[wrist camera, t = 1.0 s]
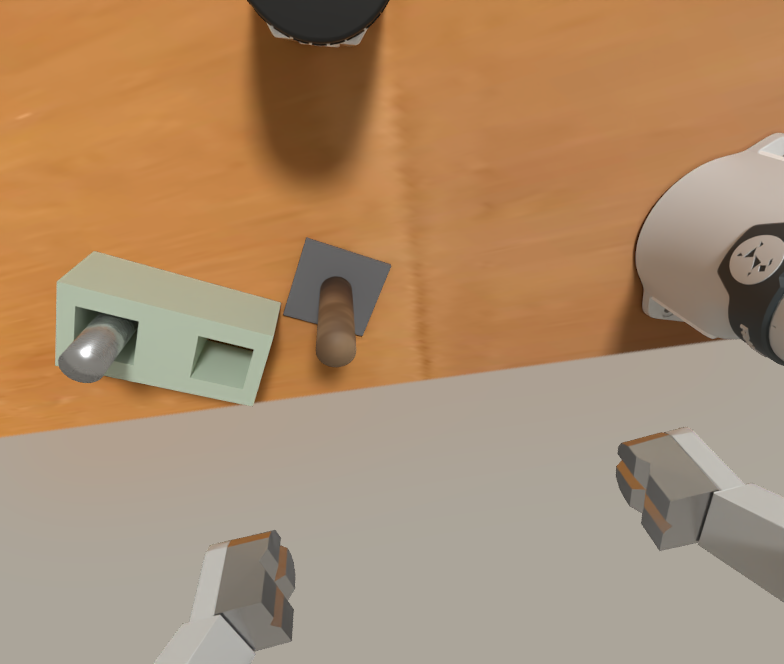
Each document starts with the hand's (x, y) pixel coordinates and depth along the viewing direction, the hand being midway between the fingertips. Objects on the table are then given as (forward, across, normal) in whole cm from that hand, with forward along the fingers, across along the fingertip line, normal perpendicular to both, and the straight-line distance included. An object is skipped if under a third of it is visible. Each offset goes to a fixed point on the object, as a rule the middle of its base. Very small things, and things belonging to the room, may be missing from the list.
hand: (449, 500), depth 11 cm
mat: (+32, +5, +10) cm, 33 cm away
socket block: (+32, +19, +8) cm, 38 cm away
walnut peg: (+31, +5, +10) cm, 33 cm away
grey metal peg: (+32, +23, +6) cm, 40 cm away
